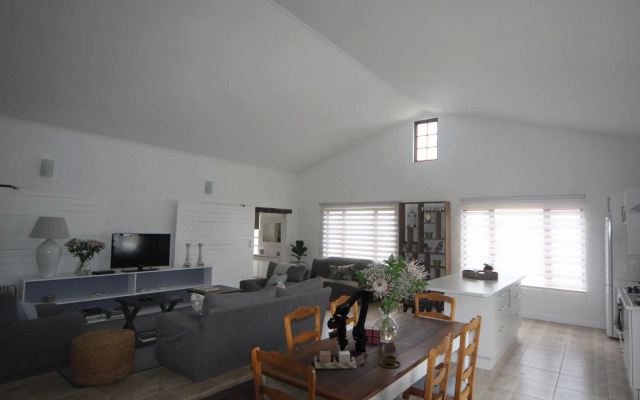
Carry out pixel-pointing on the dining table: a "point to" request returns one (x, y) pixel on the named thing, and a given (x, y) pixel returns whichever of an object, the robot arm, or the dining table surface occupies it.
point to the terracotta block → (325, 357)
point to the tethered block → (344, 356)
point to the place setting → (386, 361)
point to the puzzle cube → (373, 335)
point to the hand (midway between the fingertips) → (341, 352)
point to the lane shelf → (335, 364)
